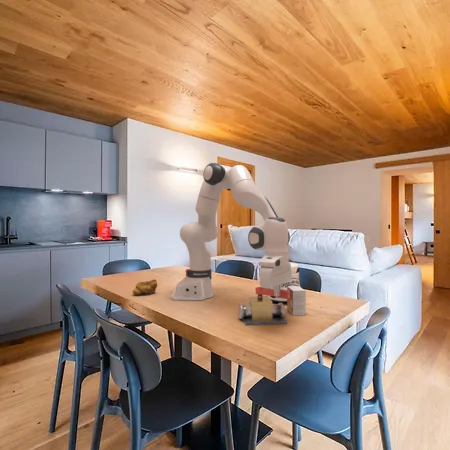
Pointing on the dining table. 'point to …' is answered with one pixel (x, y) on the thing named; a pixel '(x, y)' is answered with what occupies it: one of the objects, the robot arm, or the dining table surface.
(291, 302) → the small box
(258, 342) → the dining table surface
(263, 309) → the valve
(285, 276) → the robot arm
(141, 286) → the bread roll
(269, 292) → the lever
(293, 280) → the milk container
